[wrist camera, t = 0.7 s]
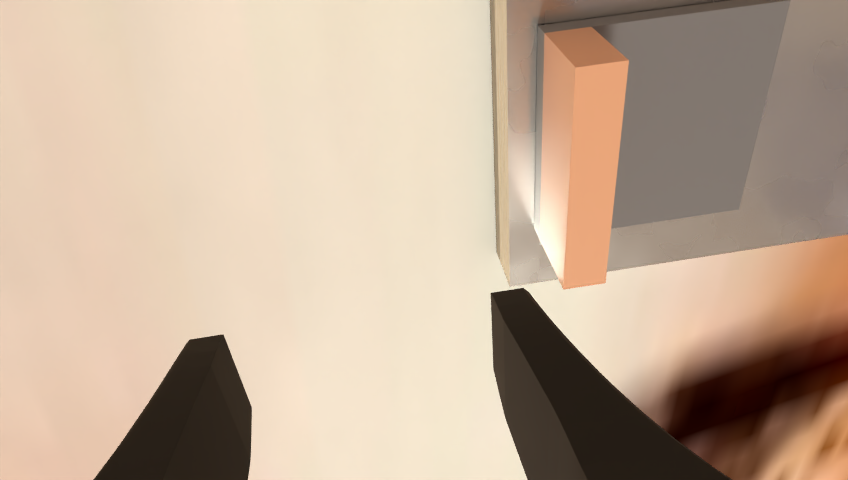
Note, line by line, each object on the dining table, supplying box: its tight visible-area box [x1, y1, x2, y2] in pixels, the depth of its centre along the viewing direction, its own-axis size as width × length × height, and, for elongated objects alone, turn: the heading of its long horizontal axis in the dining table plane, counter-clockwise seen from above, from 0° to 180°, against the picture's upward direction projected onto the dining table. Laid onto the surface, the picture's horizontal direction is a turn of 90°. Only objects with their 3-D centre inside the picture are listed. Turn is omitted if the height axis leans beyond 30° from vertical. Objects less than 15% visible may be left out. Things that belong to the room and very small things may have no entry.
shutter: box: [534, 0, 791, 289], centre depth 17 cm, size 6×6×3 cm
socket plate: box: [490, 0, 848, 287], centre depth 19 cm, size 12×11×2 cm
